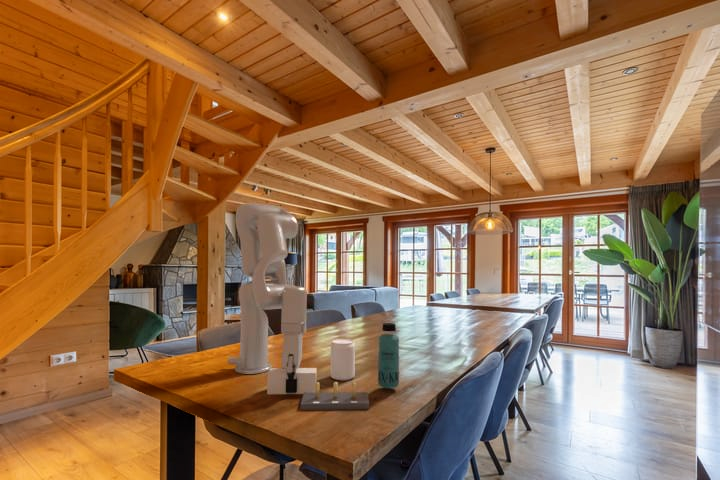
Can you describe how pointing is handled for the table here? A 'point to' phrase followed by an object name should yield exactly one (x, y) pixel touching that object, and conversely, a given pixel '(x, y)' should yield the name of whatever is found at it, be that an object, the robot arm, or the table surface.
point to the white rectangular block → (304, 380)
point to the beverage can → (342, 359)
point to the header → (335, 399)
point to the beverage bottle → (388, 358)
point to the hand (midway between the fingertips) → (292, 388)
